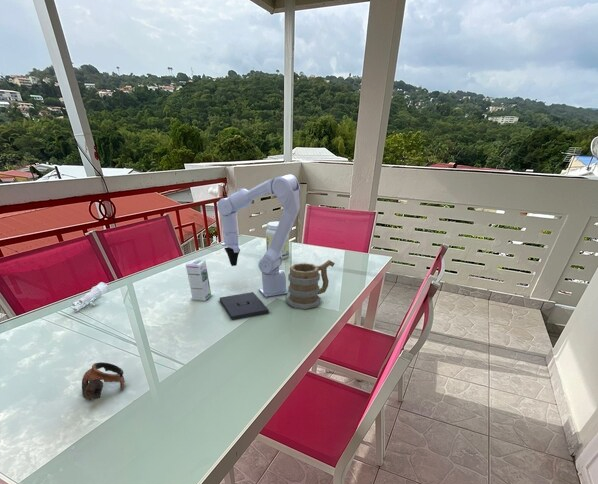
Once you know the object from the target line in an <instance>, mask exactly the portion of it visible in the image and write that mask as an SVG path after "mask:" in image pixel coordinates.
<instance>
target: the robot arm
mask: <svg viewBox="0 0 598 484" xmlns="http://www.w3.org/2000/svg"><path fill="white" fill-rule="evenodd" d="M300 189H301V186H300V183H299V181H298V179H297V178H296V176H295V175H293V174H290V173H289V174H285V175H283V176H277V177H275V178H271V179H268V180H267V179H266V180H265V181H263V182H261V183H259V184H257V185H256V186H254V187H252V188H251V189H249V190H248V189H246V188H242V187H241V188H237V189H236V192H233V193H232V194H231V193H229V194H227V195H226V196H227V197H225V198H224V197H223V198H220V199H219V200H218V201H217V204H216V208H217V212H218V213H219V214H220V218H221V225H222V236H223V242H222V243H220V244H221V246H222V247H224V251H225V252H226V254H227V257H228V261H229V263H230V266H231V267H236V266H238V265H237V264H238V257H239V254H240V251H241V249H240V242H239V232H238V231H239V230H238V220H237V212H239V211H241V210H243V209H244V208H247V207H249V206H251V205H252V204H253V200H254V199H257V198H259V197H262V196H263V195H266V194H269V195H274V196H275V197H276V198H277V199H278V201H279V202H280V203H281V205H282V207H283V211H282V214H281V216H280V219H279V224H278V226H277V229H276V231H275V234H274V236H273V239H272V242H271V244H270V247H269V249H268V250H267V249H266V251H265V253H264V254H263V257H262V258H261V259H260V260H259V261H258V269H259V270H260V272H261V282H262V288H260V289H259V292H261V293H262V295H264V297H265V298H269V297H275V296H280V295H285V294H288V293H287V278H286V277H287V276H286V273H285V271H284V270H283V269H280V266H281V265H282V261H283V259H282V255H283V253H282V250H283V248H284V245H285V243H286V241H287V238H288V236H289V237H290V234H291V231H292V228H293V226H294V224H295V222H296V220H297V217H298V214H299V212H300V210H301V203H300V202H301V199H300V198H301V197H300V191H301V190H300Z"/></svg>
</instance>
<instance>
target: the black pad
mask: <svg viewBox="0 0 598 484" xmlns="http://www.w3.org/2000/svg"><path fill="white" fill-rule="evenodd" d="M259 299H260V298H259V297H258V296H257V294H255V293H254V292H253V291H252V292H251V291H250V292H244V293H238V294H232V295H227V296H222V297H219V302H220V304H221V305H222V307H223V309H225V305H230V304H236V303H237V305H238V306H241V305H247V304H248V301H253V300H259Z"/></svg>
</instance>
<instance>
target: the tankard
mask: <svg viewBox="0 0 598 484" xmlns="http://www.w3.org/2000/svg"><path fill="white" fill-rule="evenodd" d="M334 266H335V262H334V261H332V260H330V259H328V260H327V261H325V262H324V263H322V264H320V265H315V264H313V263H307V262H301V263H295V264H293V265H292V266H291V267H289V273H288V275H287V280H288V281H289V286H288V287H287V291H288V293H289V295H288V296H287V298H286V303H287V304H288V305H289V306H290V307H292V308H293V309H294V308H296V309H300V310H308V309H312V308H317V307H318V306H319V304H320V303H321V301H322V299H321V297H320V296H319V295H321V294H322V295H323V294H325V293H326V291H327V290H328V287H329V281H330V280H329V278H328V274H327V273H328V272H327V271H328V270H327V269H328V268H329V267H332V268H333V267H334ZM319 272H320V273H319ZM320 279H321V280H322V286H321V287H320V285H319V281H320Z"/></svg>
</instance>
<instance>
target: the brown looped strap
mask: <svg viewBox="0 0 598 484" xmlns="http://www.w3.org/2000/svg"><path fill="white" fill-rule="evenodd" d="M102 368H103V369H104V370H105V372H103V371H101V370H100V369H102ZM106 372H107V373H106ZM108 372H112V373H108ZM114 373H115V374H114ZM103 382H104V383H119V384H120V385H119V388H120V390H124V387H125V383H126V380H125V377H124V370H123V369H122V368H121V367H120V366H117V365H115V364H112V363H110V362H105V361H102V362H99V361H98V362H94V363H93V364H92V365H91V368H89V369H87V370H86V372H84V374H83V375H82V379H81V391H82V392H81V394H82V396H83V398H85V399H86V400H88V401H90V400H91V399H93V400H98V399H101V398H102V391H103V388H104V384H103Z"/></svg>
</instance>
